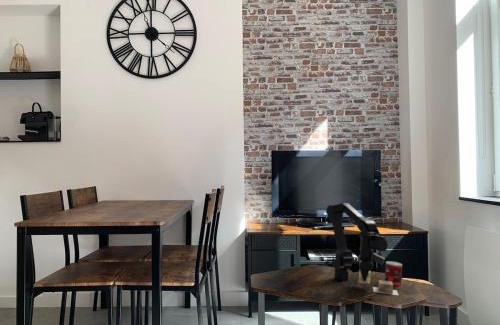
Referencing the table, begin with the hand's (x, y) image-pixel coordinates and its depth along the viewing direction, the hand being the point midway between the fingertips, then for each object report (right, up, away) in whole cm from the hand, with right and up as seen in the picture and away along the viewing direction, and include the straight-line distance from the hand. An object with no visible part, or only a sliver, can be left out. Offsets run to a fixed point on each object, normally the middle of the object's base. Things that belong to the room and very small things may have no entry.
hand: (364, 279), depth 182 cm
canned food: (+18, -7, +13) cm, 23 cm away
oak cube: (0, -1, 0) cm, 1 cm away
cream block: (+10, -5, -1) cm, 11 cm away
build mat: (+9, -6, -2) cm, 11 cm away
